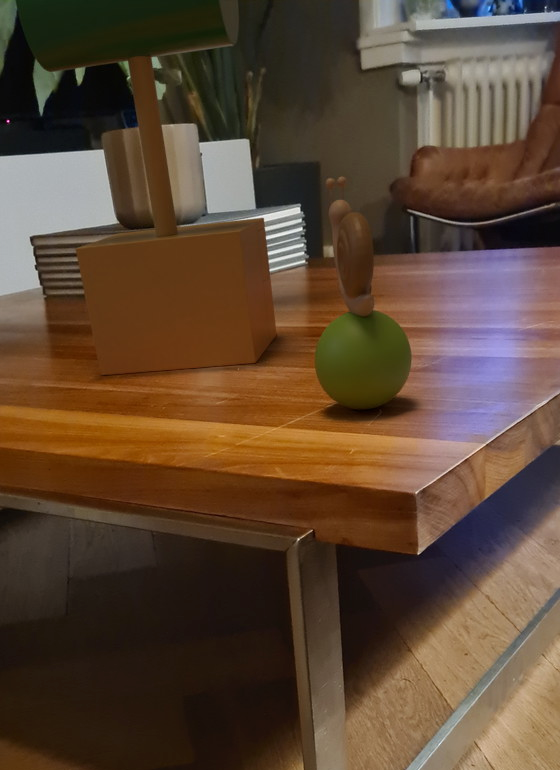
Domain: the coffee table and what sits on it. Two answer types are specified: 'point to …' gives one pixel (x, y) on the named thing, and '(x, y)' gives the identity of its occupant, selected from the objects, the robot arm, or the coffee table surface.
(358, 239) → the snail figurine
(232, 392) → the coffee table surface
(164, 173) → the lamp
